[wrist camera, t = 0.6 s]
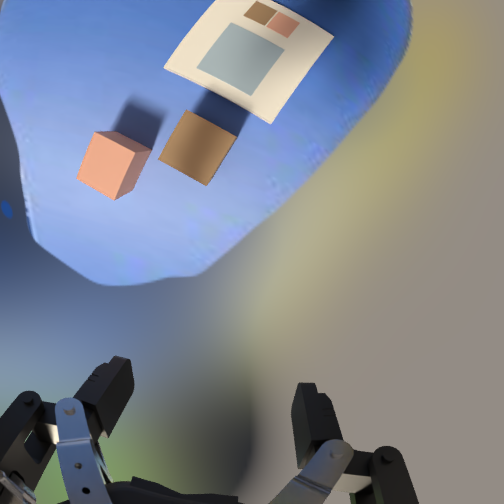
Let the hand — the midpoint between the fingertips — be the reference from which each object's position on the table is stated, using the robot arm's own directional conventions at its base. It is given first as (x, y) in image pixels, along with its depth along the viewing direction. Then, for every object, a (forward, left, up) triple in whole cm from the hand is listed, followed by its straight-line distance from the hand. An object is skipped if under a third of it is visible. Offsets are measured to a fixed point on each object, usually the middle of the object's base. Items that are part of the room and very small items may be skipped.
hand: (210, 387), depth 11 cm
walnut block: (-7, +7, -23) cm, 25 cm away
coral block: (-15, +1, -23) cm, 28 cm away
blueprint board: (-9, +20, -23) cm, 32 cm away
